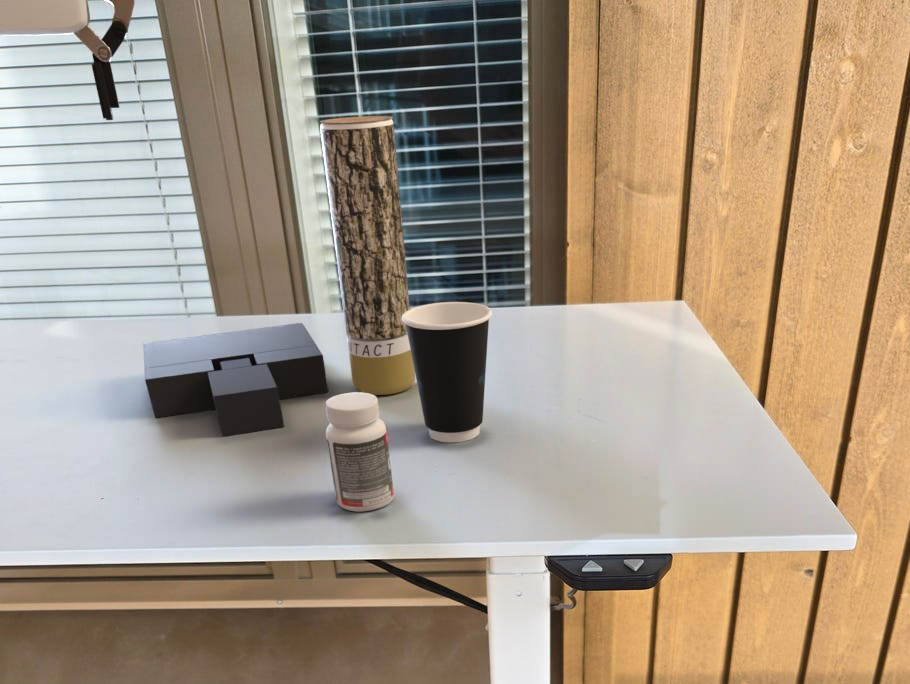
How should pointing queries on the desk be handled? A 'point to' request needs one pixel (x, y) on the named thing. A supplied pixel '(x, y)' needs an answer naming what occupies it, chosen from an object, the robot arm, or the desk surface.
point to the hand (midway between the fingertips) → (47, 121)
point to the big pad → (190, 359)
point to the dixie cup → (450, 366)
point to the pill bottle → (358, 452)
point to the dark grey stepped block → (245, 397)
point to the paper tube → (369, 249)
